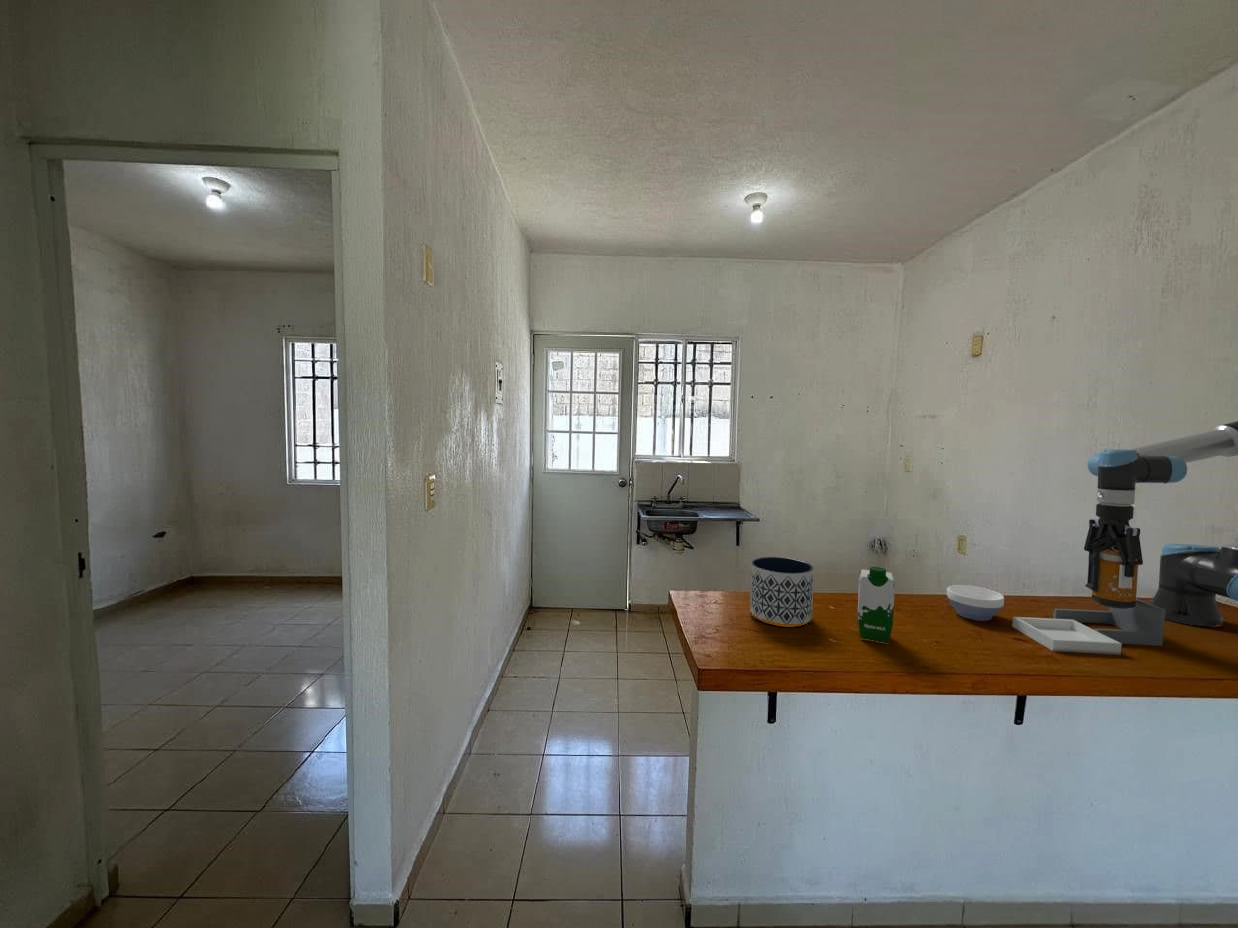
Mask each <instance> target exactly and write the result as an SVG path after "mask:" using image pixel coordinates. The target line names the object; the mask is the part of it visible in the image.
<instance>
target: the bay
mask: <svg viewBox="0 0 1238 928" xmlns="http://www.w3.org/2000/svg"><path fill="white" fill-rule="evenodd" d="M1135 602H1136V607H1134V608H1127V609H1118V608H1111V607H1108V610H1097V609H1096V610H1091V609H1072V608H1071V609H1069V608H1068V609H1067V608H1053V613H1052V614H1053V615H1052V616H1053V617H1052V619H1070V620H1075V621H1077V622H1079V623H1088V624H1091V623H1092V624H1094V623H1095V624H1110V625H1113V626H1114V627H1117V628H1120V629H1114V628H1113V629H1111V628H1094V629H1093V630H1095V631H1097V632H1099V633H1101V634H1103V635H1105V636H1107V637H1109V638H1111V639H1113V640H1115V641H1117V642H1119V643H1122V645H1125V644H1126V645H1137V646H1138V645H1140V646H1141V645H1142V646H1163V645H1164V635H1165V633H1164V631H1165V622H1166V621H1165V620H1166V619H1165V612H1166V610H1165V609H1163V608H1160V607H1157V606H1155V605H1152V604H1149V603H1150V602H1147V601H1143V600H1141V599H1139V598H1136V601H1135Z"/></svg>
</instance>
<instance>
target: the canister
mask: <svg viewBox="0 0 1238 928" xmlns="http://www.w3.org/2000/svg"><path fill="white" fill-rule="evenodd" d="M1087 546H1088V548H1089V552H1088V561H1087V562H1088V564H1087V565H1088V566H1087V569H1088V570H1087V583H1086V584H1085V585H1084V587H1086V588H1088V589H1089V590H1091V598H1090V599H1091V600H1092V601H1093V602H1095V603H1097V604H1099V605H1102V606H1104V607H1108V608H1109V607H1111V608H1118V609H1127V608H1134V607H1136V602H1135V601H1136V599H1137V592H1138V576H1139V575H1138V574H1139V565H1136V566H1135V568H1134V577H1133V578H1132V588H1119V571H1120V563H1123V562H1122V559H1121V556H1120V553H1119V550H1118V547H1117V544H1116V542H1115V541H1114V540H1113V538H1112V537H1109V536H1108V537H1106V536H1104V535H1101V536H1099V537H1097V538H1095V539H1093V540H1091V541H1089V542H1087ZM1128 561H1129V559H1128Z"/></svg>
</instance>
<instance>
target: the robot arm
mask: <svg viewBox="0 0 1238 928" xmlns="http://www.w3.org/2000/svg"><path fill="white" fill-rule="evenodd" d="M1219 456H1221V457H1227V458H1228V457H1236V456H1238V421H1237V420H1236V421H1234V422H1229V423H1225V424H1220V425H1216V426H1213V427H1211V428H1210V429H1209V430H1208V431H1205V432H1202V433H1197V434H1192V435H1189V436H1188V435H1187V436H1183V437H1179V438H1175V439H1171V440H1166V441H1165V440H1164V441H1162V442H1158V443H1157V442H1156V443H1152V444H1148V445H1144V446H1140V447H1135V448H1130V449H1128V448H1127V449H1123V448H1122V449H1119V448H1117V449H1116V448H1113V449H1112V448H1110V449H1109V448H1105V449H1103V450H1101V451H1100V452H1098V453H1095V454H1093V455H1092V456H1091V457H1090V458H1089V459H1088V462H1087V469H1088V471H1089V472H1090V473H1091V474H1092V475H1093V476H1095V477H1097V492H1096V502H1098V503H1097V504H1095V505H1096V506H1095V516H1096V517H1097V519H1093V518H1091V519H1089V520H1088V525H1089V527H1088V531H1087V534H1086V535H1087V536H1086V539H1085V541H1084V542H1085V543H1084V545H1083V550H1084V551H1085V552H1088V553H1089V548H1088V546H1087V542H1089V541H1091V540H1093V539H1095V538H1097V537H1099V536H1101V535H1104V536H1106V537H1108V536H1109V537H1112V538H1113V540H1114V541H1115V542H1116V544H1117V547H1118V550H1119V553H1120V556H1121V559H1122V562H1123V563H1120V571H1119V588H1132V578H1133V577H1134V568H1135V566H1136V565H1138V566H1142V565H1144V561H1143V554H1142V545H1141V539H1140V537H1141V528H1140V527H1132V526H1131V524H1130V520H1132V519H1134V514H1135V513H1134V512H1135V511H1134V510H1135V507H1134V506H1133V505H1134V504H1135V499H1136V497H1135V496H1136V484H1141V483H1142V484H1165V485H1166V484H1168V483H1169V484H1171V483H1172V484H1173V483H1178V482H1181V481H1183V480H1184V479H1185V477H1186V476H1187V475H1188V466H1187V463H1192V462H1195V461H1201V460H1207V459H1210V458H1214V457H1219ZM1098 518H1099V519H1098ZM1128 559H1129V561H1128ZM1158 575H1159V576H1158V577H1159V578H1158V588H1157V591H1156V592H1155V594H1154V596H1153V598H1152V601H1151V602H1148V603H1149V604H1152V605H1155V606H1157V607H1160V608H1163V609H1165V610H1166V612H1165V620H1166V621H1171V622H1173V621H1174V622H1173V623H1178V622H1179V623H1178V624H1182V623H1183V624H1184V625H1187V624H1189V625H1188V626H1193V625H1197V626H1196V627H1200V626H1216V625H1220V624H1222V625H1223V621H1224V619H1223V615H1222V614H1221V611H1220V607H1219V605H1218V602H1217V600H1216V598H1217V597H1216V595H1218V596H1221V597H1225V598H1228V599H1231V600H1233V601H1236V602H1238V532H1237V533H1236V536H1235V537H1234V540H1233V541H1232V542H1231V543H1229V544H1226V545H1222V546H1221V547H1218V546H1216V545H1215V546H1214V545H1206V544H1205V545H1204V544H1191V543H1190V544H1189V543H1188V544H1187V543H1168V544H1165V545H1164V546H1163V547H1162V549H1161V554H1160V559H1159V574H1158ZM1183 624H1182V625H1183Z"/></svg>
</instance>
